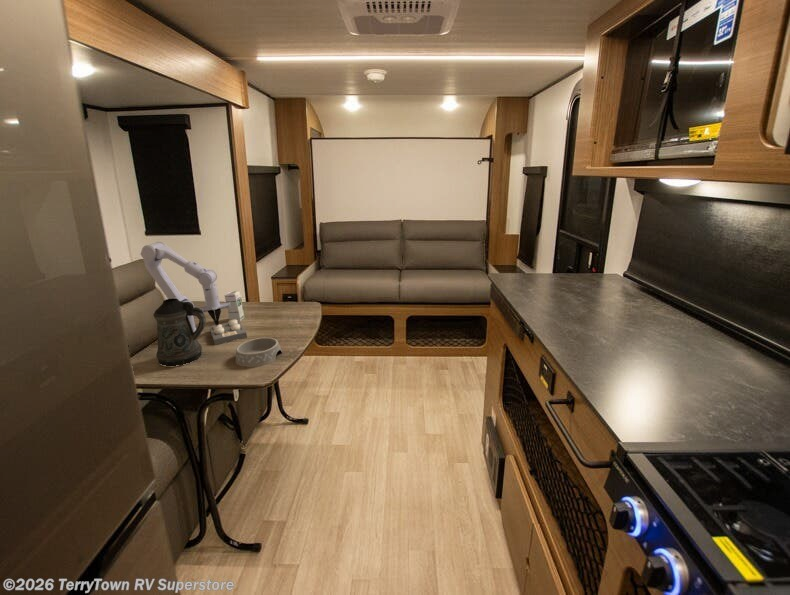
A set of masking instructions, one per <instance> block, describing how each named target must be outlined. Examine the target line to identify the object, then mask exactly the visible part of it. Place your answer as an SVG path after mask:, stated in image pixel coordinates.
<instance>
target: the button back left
mask: <svg viewBox="0 0 790 595" xmlns="http://www.w3.org/2000/svg"><path fill="white" fill-rule="evenodd" d="M221 324H222V323H221ZM221 324H220V323H219V325H217V326H216V325H215V324H214V325H212V326H213V330H214V329H216V328H219V327H222V325H221Z"/></svg>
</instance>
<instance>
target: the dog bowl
mask: <svg viewBox="0 0 790 595" xmlns="http://www.w3.org/2000/svg"><path fill="white" fill-rule="evenodd" d="M279 351H280V352H281V353H282V354H283V350H282V349H281V346H280V343H279V341H278V340H277V339H276V338H273V337H267V336H266V337H264V336H263V337H258V338H253V339H249V340H246V341H243V342H242V343H240V344H239V345H238V346H237V347H236V349H235V364H236V365H238V364H239V365H241V366H240V367H243V366H246V367H245V368H257V367H263V366H266V365H269V364H272V363H274V362H276V357H277V354H278V352H279ZM239 365H238V366H239Z"/></svg>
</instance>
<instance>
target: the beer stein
mask: <svg viewBox="0 0 790 595" xmlns="http://www.w3.org/2000/svg"><path fill="white" fill-rule="evenodd" d="M192 303H193V302H192ZM192 303H190V302H181V301H179V300H178V299H174V298H173V299H168V298H167V299H166V298H165V299H164V300H163V302H162V303H161V305H160V306H158V308H156V309H155V311H154V313H153V317H154V320H156V329H157V351H156V355H155V356H156V359H157V361H158V364H159V363H160V364H162V365H166V366H176V365H183V364H186V363H189V364H191V363H190V362H192V361H194V360H196V361H198V360H199V357H200V356H201V357H202V353H203V352H202V351H203V350H202V345H201V344H200V342H199V340H198V339H197V338H198V337H199V336H200V335H201V334H202V332H203V331H204V329H205V326H206V323H207V320H206V318H207V317H206V314H205V312H203V311H202V310H200V309H199V308H200V307H195V306H194V307H193V304H194V303H193V304H192ZM192 315H193V317H197V318H198V326H197V327H196V331H195V332H193V329H192V326H191V324H190V321H189V319H188V316H192ZM201 357H200V358H201ZM194 362H195V361H194ZM192 363H193V362H192ZM186 365H187V364H186ZM183 366H184V365H183Z"/></svg>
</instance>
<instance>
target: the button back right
mask: <svg viewBox="0 0 790 595" xmlns="http://www.w3.org/2000/svg"><path fill="white" fill-rule="evenodd" d="M227 323H229V327H231V325H233V324H238V322H237V320H235V319H234V320H228V322H227Z"/></svg>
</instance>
